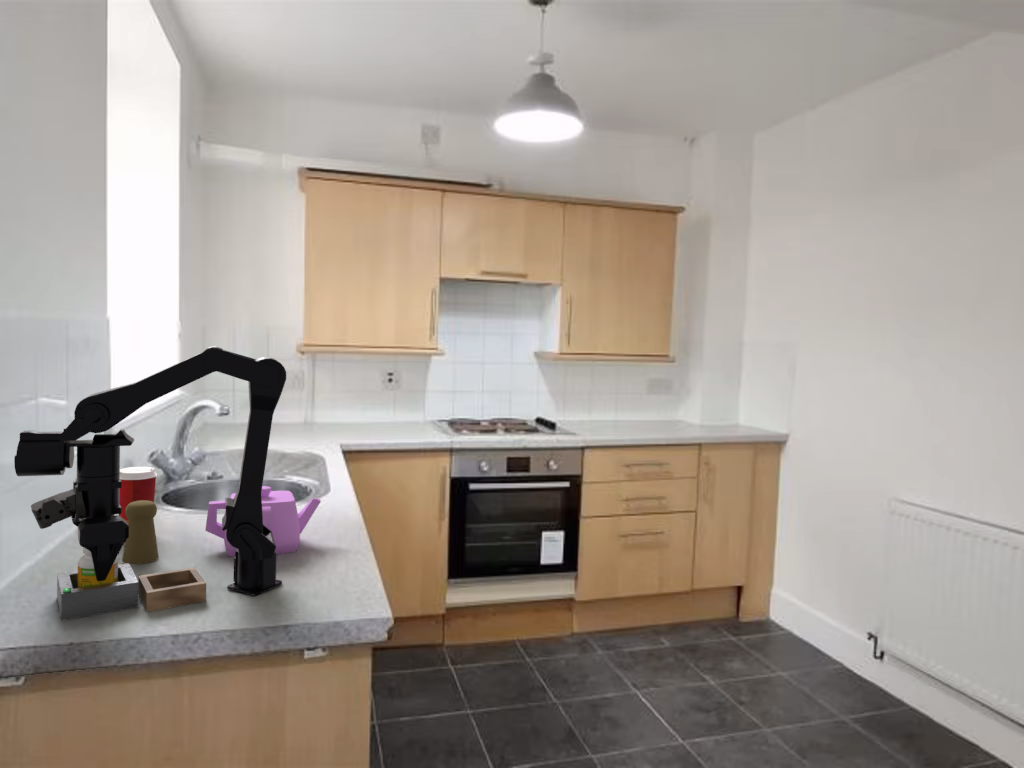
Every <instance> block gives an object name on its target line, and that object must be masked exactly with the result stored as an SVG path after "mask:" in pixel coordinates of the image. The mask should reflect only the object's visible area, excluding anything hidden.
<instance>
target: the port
mask: <svg viewBox="0 0 1024 768" xmlns="http://www.w3.org/2000/svg"><path fill="white" fill-rule="evenodd" d="M137 578H138V577H136V574H135V572H134V570H133V568H132V565H131V564H129V563H121V564H119V563H118V582H115V583H108V584H102V585H95V586H89V587H83V588H78V569H77V570H70V571H64V572H57V573H56V599H57V604H58V611H59V616H60V621H68V620H72V619H79V618H84V617H90V616H97V615H100V614H106V613H112V612H117V611H123V610H129V609H134V608H138V607H139V594H138V579H137Z"/></svg>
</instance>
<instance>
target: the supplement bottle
mask: <svg viewBox="0 0 1024 768" xmlns="http://www.w3.org/2000/svg"><path fill="white" fill-rule="evenodd" d="M82 552H83V554H84V555H82V556H81V557H80V558H79V559H78V561H77V570H78V588H83V587H89V586H95V585H102V584H108V583H115V582H118V565H119V557H118V556H117V558H116V560H115V561H114V563H113V565H112V567H111V570H110V572H109V574H108V576H107V578H106V580H104V581H97V579H96V575H95V570H94V566H93V561H92V556H91V552H90V551H89V550H88V549H86V548H84V547H82Z"/></svg>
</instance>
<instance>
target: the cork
mask: <svg viewBox="0 0 1024 768" xmlns="http://www.w3.org/2000/svg"><path fill="white" fill-rule="evenodd" d="M157 512H158V508H157V504H156V503H155V501H154V502H152V501H147V500H141V501H135V502H131V503H129V504H128V505H127V507H126V509H125V514H126V517H127V519H128V520H129V521H128V525H129V538H127V540H126V542H124V544H123V553H122V559H121V561H122V564H126V563H129V564H130V565H143V564H144V565H145V564H149V563H151V562H153V563H154V562H155V561H157V560H158V559H159V551H158V542H157V533H156V528H155V519H154V518H155V517H156V515H157Z"/></svg>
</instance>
